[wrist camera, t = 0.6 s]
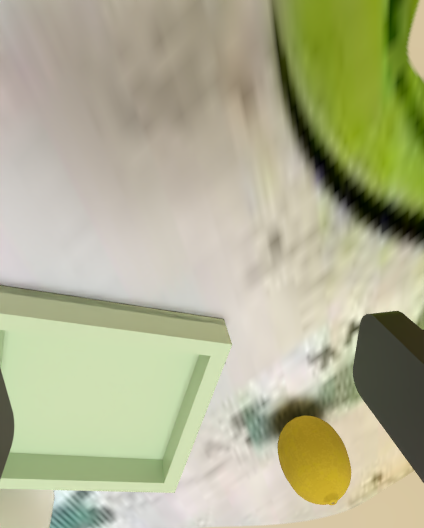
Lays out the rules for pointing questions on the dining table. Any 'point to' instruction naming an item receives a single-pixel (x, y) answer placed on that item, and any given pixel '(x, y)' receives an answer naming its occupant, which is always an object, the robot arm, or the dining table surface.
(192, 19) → the dining table surface
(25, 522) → the base with upright slab
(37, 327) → the tray
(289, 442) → the lemon
